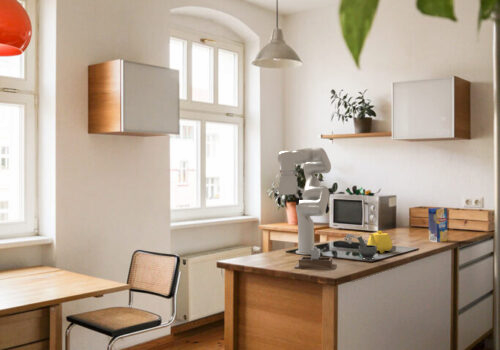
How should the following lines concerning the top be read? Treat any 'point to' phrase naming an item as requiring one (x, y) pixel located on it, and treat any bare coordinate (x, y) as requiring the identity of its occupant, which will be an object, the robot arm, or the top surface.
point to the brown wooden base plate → (315, 263)
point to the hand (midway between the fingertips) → (288, 205)
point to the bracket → (351, 238)
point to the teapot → (380, 241)
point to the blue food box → (437, 224)
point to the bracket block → (315, 254)
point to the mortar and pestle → (366, 249)
